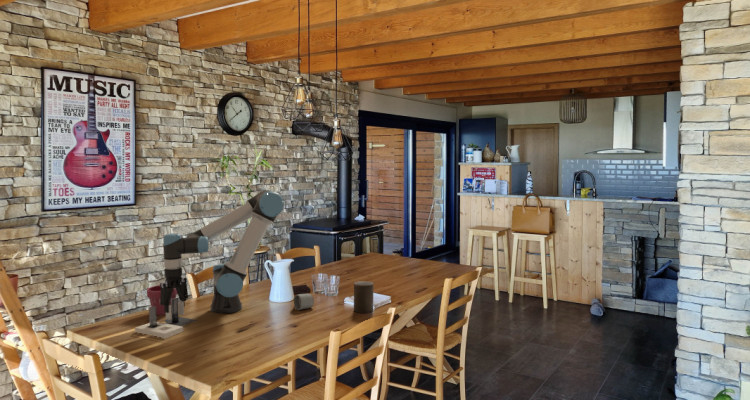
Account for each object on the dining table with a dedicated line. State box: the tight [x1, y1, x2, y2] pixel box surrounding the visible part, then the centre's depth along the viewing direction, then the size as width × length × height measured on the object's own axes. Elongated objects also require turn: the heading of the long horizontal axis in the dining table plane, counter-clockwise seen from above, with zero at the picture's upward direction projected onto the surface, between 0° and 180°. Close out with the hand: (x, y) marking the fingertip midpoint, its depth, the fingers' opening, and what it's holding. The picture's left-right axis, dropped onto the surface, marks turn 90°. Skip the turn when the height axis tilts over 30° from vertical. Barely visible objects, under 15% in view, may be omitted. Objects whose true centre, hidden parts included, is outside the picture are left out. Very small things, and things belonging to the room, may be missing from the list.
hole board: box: [134, 321, 184, 340], centre depth 229 cm, size 10×18×2 cm, turn 63°
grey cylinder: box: [293, 293, 315, 311], centre depth 266 cm, size 11×8×8 cm
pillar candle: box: [353, 280, 374, 314], centre depth 260 cm, size 10×10×15 cm
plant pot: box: [146, 284, 178, 316], centre depth 259 cm, size 14×14×13 cm
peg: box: [171, 297, 180, 323], centre depth 243 cm, size 3×3×11 cm
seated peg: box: [148, 305, 158, 328], centre depth 231 cm, size 3×3×11 cm
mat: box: [163, 316, 198, 327], centre depth 243 cm, size 14×14×1 cm
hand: (175, 316), depth 243 cm, fingers open, 7 cm apart
